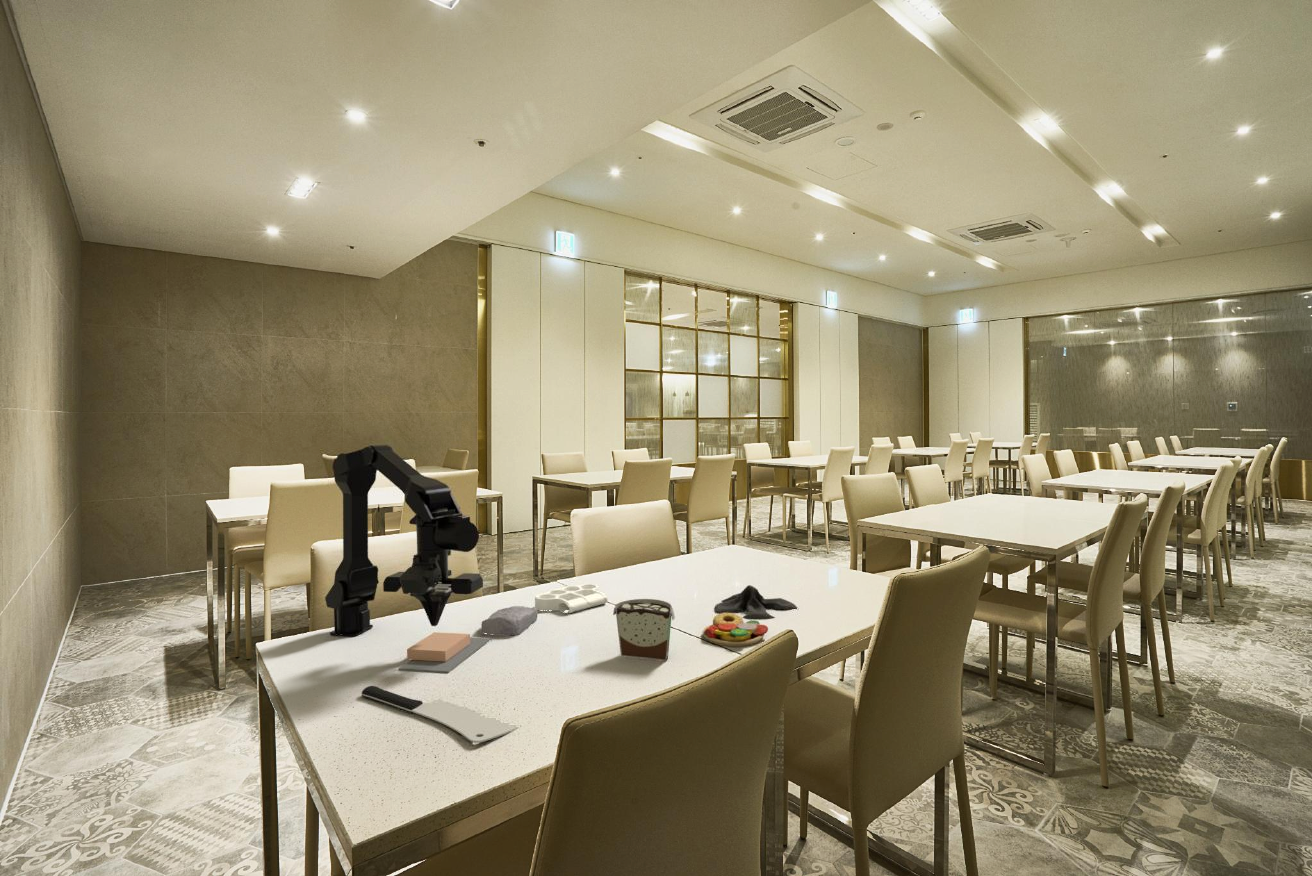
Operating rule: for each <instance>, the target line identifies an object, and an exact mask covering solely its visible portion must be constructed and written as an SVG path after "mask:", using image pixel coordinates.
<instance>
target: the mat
mask: <svg viewBox="0 0 1312 876" xmlns="http://www.w3.org/2000/svg"><path fill="white" fill-rule="evenodd" d="M489 640H490V641H492V638H488V637H472V636H470V644H469V645H468V646H466V647H465V648H464V649H462V650H461V651H459V652H458V653H457V654H455V655H454V656H453V657H451V658H450V659H449V660H447V661H446V662H443V661H425V660H409V661H408V662H406V663H405V664H403V665H401V666H400V667H399V668H398V671H410V672H411V671H412V672H427V673H443V674H444V673H446V674H449V673H450V672H452V671H453V670H454V669H456V668H457V667H458V666H459V665H460V664H462V663H463V662H464V661H466V660H467V659H468V658H470V657H471V656H472V655H474V654H476V652H477V651H478V650H480V649H481V648H482V646H483V647H484V646H485V645H486V644H488V643H490V641H489ZM487 642H488V643H487Z"/></svg>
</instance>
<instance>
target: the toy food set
mask: <svg viewBox="0 0 1312 876" xmlns="http://www.w3.org/2000/svg"><path fill="white" fill-rule="evenodd" d="M743 619H744V618H742V616H740V615H738V614H737V613H721V614H716V615H714V617H713V620H712V624H710V625H708V626H706V627H704V628H703V630H702V635H703V636H704V638H706V639H707V641H709V642H711V643H713V644H716V645H719V646H726V647H744V646H751V645H755V644H756V643H758V642H760V641H761V640H762V639H763V638H764V636H765V634H767V633H768V632H769V628H768V626H767V625H765V624H761V623H760V622H759V620H755V619H752V620H749V621H746V622H744V620H743Z"/></svg>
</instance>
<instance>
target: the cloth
mask: <svg viewBox="0 0 1312 876" xmlns="http://www.w3.org/2000/svg"><path fill="white" fill-rule="evenodd" d="M797 608H798V606H797V605H796V604H794V603H793V602H791V601H789V600H787V599H784V598H782V597H779V598H777V597H776V598H775V597H774V598H764V595H762V594H761V593H760V592H759V590H758V588H756V587H755V586H753V585H751V584H750V585H747V586H746V587H745V588H744V589H743V590H741V592H740V593H735V594H733V595H731V596H729V597H727V598H725V599H722V600H721V601H720V603H719V602H718V603H717V604H715V606H714V612H715V614H716V615H718V614H721V613H733V614H738V613H741V612H747V613H746V614H745V615H744V616H741V618H742V619H744V620H745V619H746V620H771V619H775V618H776V617H775V616H773V615H772V614H770V613H768V612H767V611H766V610H772V611H779V610H782V611H791V610H792V609H797ZM797 610H798V609H797ZM792 611H793V610H792Z"/></svg>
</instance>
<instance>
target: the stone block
mask: <svg viewBox="0 0 1312 876" xmlns="http://www.w3.org/2000/svg"><path fill="white" fill-rule="evenodd" d="M536 621H538V610H537V609H536V608H535V607H530V606H529V607H528V606H522V605H521V606H520V605H513V606H510V607H505V608H504V607H503V608H502V609H498V610H497V611H495V612H492V614H491V615H489V617H487V618H486V619H484V620H483V621H481V630H482V632H483V634H484V633H487V634H486V635H488V634H493V635H492V636H508V635H509V636H514V635H517V636H520V635H521V634H522V633H523V632H525V631H526V630H527V629H528V628H530V627H531V626H532V625H534V623H536ZM531 624H532V625H531ZM530 625H531V626H530ZM529 626H530V627H529Z"/></svg>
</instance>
